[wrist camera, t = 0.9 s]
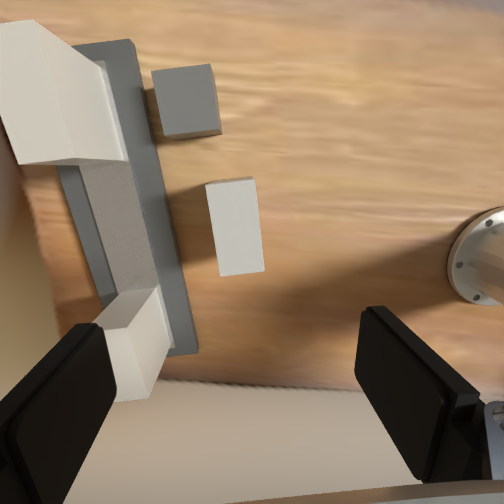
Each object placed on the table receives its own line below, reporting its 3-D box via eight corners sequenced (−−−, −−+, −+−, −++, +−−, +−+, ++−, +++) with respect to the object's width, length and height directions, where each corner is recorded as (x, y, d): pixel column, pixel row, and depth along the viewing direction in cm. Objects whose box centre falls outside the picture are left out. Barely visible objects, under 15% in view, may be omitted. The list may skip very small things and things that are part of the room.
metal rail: (106, 61, 24) (104, 59, 23) (176, 345, 33) (175, 347, 33) (51, 68, 24) (48, 66, 23) (137, 350, 33) (136, 352, 33)
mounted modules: (100, 67, 24) (32, 19, 16) (170, 345, 33) (148, 398, 25) (56, 72, 24) (-33, 27, 16) (139, 348, 33) (107, 403, 25)
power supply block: (214, 79, 26) (210, 63, 22) (222, 134, 27) (219, 128, 23) (164, 85, 26) (150, 71, 22) (174, 140, 27) (163, 135, 23)
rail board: (134, 44, 24) (129, 38, 23) (199, 347, 35) (197, 353, 34) (28, 57, 25) (18, 52, 23) (124, 356, 35) (120, 362, 34)
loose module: (251, 176, 29) (254, 179, 21) (259, 245, 31) (264, 271, 23) (213, 180, 29) (203, 185, 21) (224, 250, 31) (218, 276, 23)
